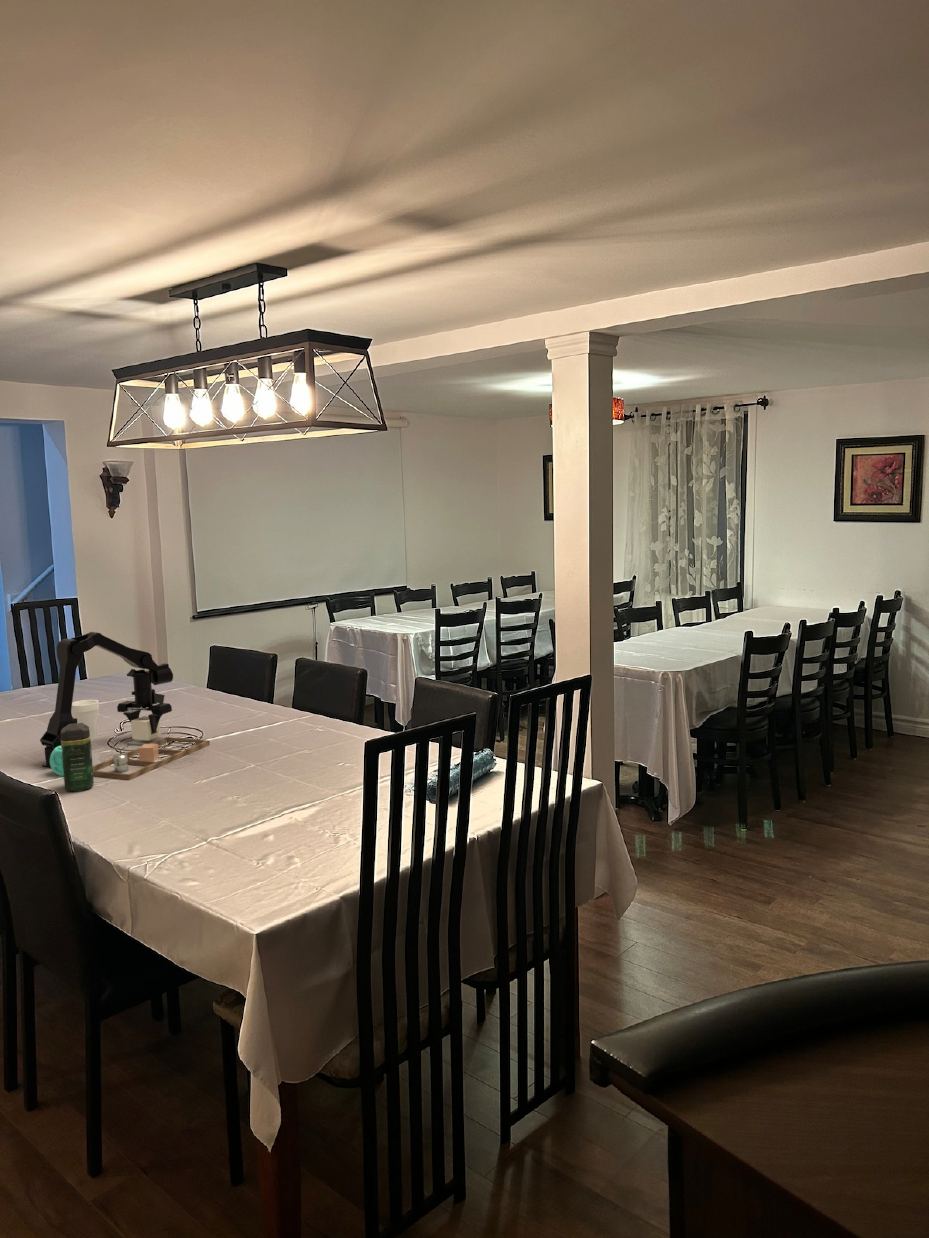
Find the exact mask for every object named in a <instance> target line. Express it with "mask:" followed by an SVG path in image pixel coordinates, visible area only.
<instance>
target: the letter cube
mask: <svg viewBox="0 0 929 1238" xmlns="http://www.w3.org/2000/svg"><path fill="white" fill-rule="evenodd" d="M160 722H161V721H160V720H159V723H158V726H157V730H156V732H155V733H153V732H152V729H151V725H150V721H149V716H146V715H143V716H139V718H137V719H134V720H131V722H130V725H131V738H132V740H151V739H153V738H156V737H161V735H162V734H161V726H160V725H161V723H160Z"/></svg>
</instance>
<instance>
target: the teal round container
mask: <svg viewBox="0 0 929 1238" xmlns="http://www.w3.org/2000/svg"><path fill="white" fill-rule="evenodd" d="M50 766H51V767H50V768H51V770H52V771H53V773H55V774H56V775H57V776H59V777H64V771H63V760H62V748H61V746H58V747H56V748H55V749H54V750H53V751H52V753H51V756H50Z"/></svg>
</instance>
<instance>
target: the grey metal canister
mask: <svg viewBox="0 0 929 1238" xmlns="http://www.w3.org/2000/svg"><path fill="white" fill-rule="evenodd" d="M125 753H126V752H125ZM125 753H123V752H122V753H117V754H114V755H113V757H112V758H114V764H113V767H114V768H113V769H114V773H123V774H125V773H126V772H129V765H128V759H129V758H128V757H127V754H125Z"/></svg>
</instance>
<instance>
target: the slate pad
mask: <svg viewBox="0 0 929 1238" xmlns="http://www.w3.org/2000/svg"><path fill="white" fill-rule="evenodd" d="M163 738H164V737H163V736H162V737H161V736H158V737H156V738H153V739H151V740H136V739H133V740H132V741H131V740H130V741H129V742H128V741H127V744H126V745H129V746H139V747H141V746H142V745H144V744H150V743H153V742H155V741H158V740H160V739H163Z"/></svg>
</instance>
